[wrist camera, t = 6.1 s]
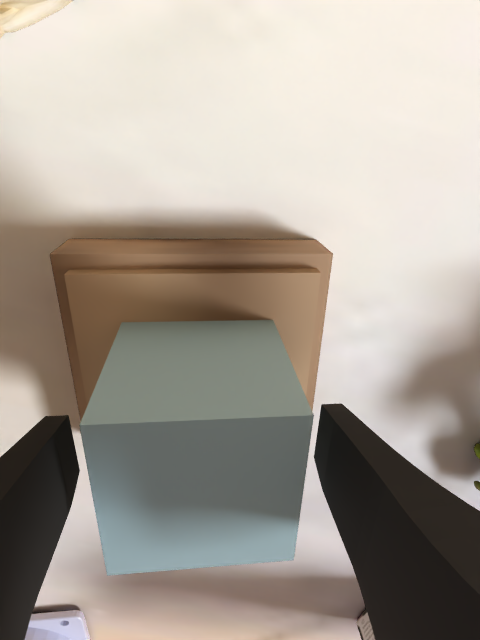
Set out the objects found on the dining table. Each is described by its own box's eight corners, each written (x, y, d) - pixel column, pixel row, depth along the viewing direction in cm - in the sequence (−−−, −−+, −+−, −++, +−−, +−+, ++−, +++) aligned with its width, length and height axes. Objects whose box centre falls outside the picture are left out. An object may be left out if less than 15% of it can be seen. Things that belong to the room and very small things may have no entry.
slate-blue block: (134, 441, 15) (107, 575, 10) (121, 322, 12) (79, 424, 8) (264, 435, 15) (293, 560, 11) (273, 319, 13) (313, 415, 9)
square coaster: (101, 436, 17) (86, 480, 15) (68, 239, 14) (44, 258, 11) (295, 426, 18) (309, 466, 16) (316, 239, 15) (337, 257, 12)
